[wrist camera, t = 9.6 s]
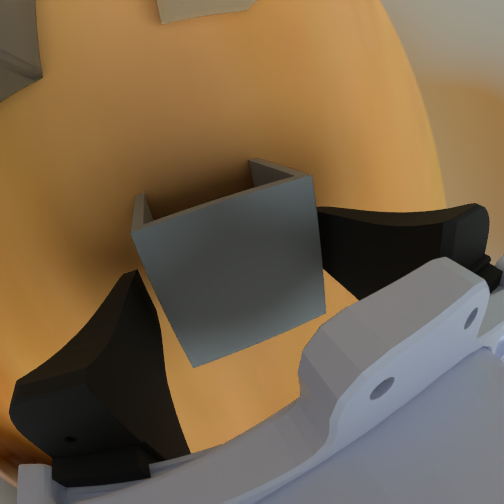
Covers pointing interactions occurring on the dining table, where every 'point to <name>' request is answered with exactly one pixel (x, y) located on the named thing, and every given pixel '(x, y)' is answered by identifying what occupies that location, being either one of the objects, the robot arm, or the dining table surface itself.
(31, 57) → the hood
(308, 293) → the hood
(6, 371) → the dining table surface
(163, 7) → the cube
